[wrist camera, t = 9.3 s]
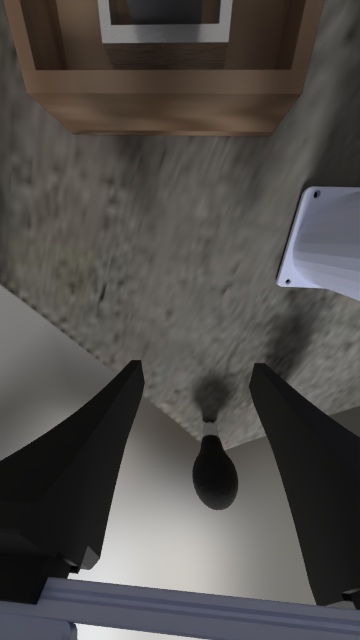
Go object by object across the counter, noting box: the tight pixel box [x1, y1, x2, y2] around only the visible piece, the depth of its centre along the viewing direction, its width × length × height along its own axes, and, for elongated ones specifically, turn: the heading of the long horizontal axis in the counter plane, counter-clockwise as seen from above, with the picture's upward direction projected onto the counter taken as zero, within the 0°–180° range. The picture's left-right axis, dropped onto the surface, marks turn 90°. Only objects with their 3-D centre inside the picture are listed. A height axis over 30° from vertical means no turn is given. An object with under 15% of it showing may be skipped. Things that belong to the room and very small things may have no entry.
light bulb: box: [193, 421, 238, 510], centre depth 23 cm, size 6×6×10 cm
